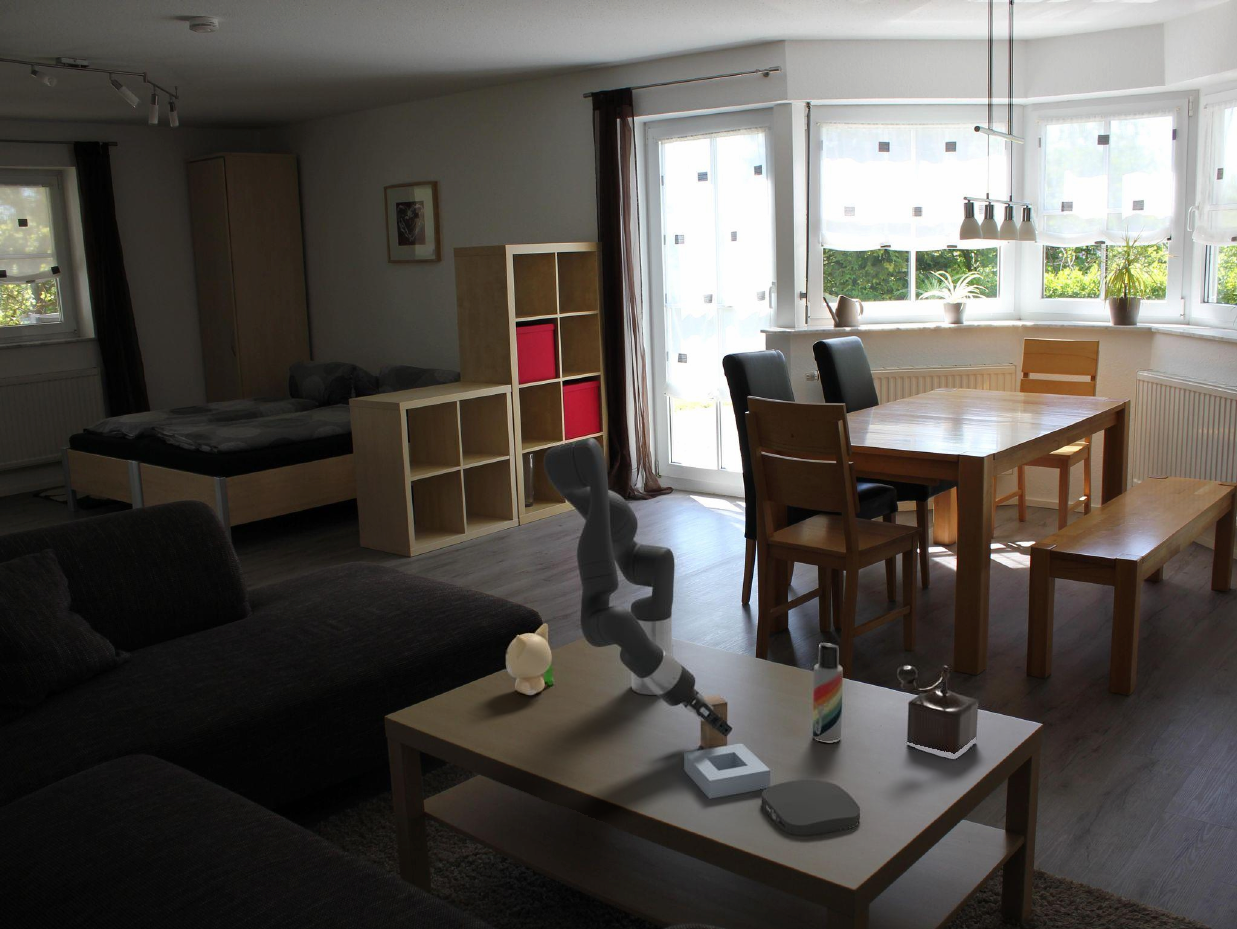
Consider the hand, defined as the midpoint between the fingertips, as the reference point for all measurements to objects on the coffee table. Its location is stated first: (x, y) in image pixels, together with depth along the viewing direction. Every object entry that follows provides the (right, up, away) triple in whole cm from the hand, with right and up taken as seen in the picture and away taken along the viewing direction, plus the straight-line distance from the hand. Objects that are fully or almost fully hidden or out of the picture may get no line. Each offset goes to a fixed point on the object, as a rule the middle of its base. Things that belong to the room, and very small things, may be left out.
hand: (721, 725), depth 213 cm
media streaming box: (+13, -9, -26) cm, 30 cm away
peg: (-2, -4, 0) cm, 5 cm away
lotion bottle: (+22, -4, +4) cm, 22 cm away
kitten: (-40, 0, +30) cm, 51 cm away
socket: (0, -7, -13) cm, 15 cm away
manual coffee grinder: (+42, -4, -1) cm, 42 cm away
